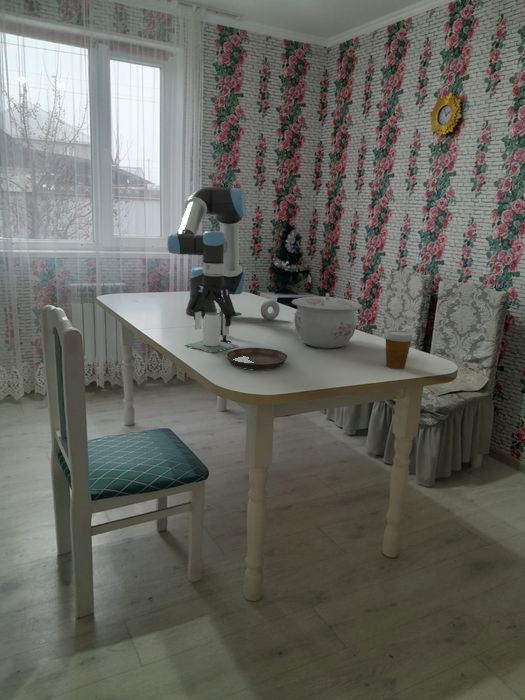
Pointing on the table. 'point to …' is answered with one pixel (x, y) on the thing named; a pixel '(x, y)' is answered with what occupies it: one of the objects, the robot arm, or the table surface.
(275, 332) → the table surface
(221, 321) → the dark grey angled piece
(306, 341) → the chamber pot
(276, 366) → the plant saucer
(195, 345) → the mat
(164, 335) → the table surface
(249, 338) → the table surface
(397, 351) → the disposable coffee cup
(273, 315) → the donut
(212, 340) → the can
